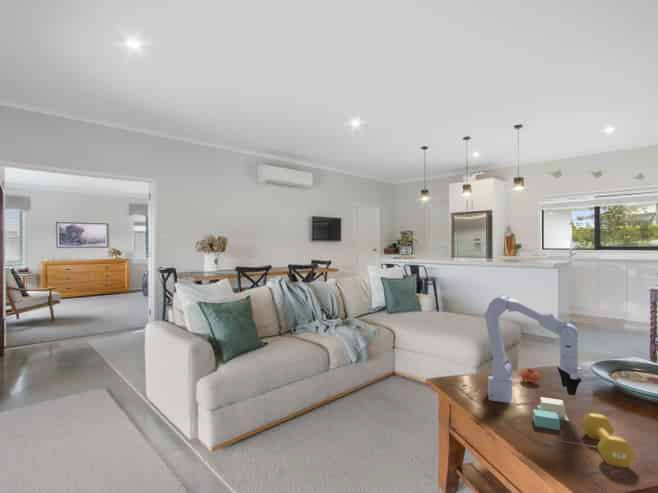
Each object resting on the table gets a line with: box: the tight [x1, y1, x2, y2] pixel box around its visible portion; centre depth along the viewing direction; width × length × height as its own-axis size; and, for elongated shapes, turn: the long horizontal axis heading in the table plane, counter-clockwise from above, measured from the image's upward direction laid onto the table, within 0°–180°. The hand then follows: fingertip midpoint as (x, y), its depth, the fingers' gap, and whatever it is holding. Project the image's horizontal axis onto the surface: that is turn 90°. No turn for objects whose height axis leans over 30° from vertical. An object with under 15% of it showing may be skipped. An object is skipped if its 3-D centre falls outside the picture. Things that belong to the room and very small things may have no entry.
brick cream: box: [539, 396, 566, 417], centre depth 135 cm, size 8×5×4 cm, turn 67°
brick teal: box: [532, 409, 561, 431], centre depth 126 cm, size 8×5×4 cm, turn 68°
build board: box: [536, 404, 570, 422], centre depth 135 cm, size 9×10×1 cm
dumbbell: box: [580, 412, 636, 469], centre depth 111 cm, size 19×9×8 cm, turn 159°
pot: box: [520, 368, 541, 386], centre depth 164 cm, size 8×8×7 cm
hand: (568, 390), depth 133 cm, fingers open, 7 cm apart
